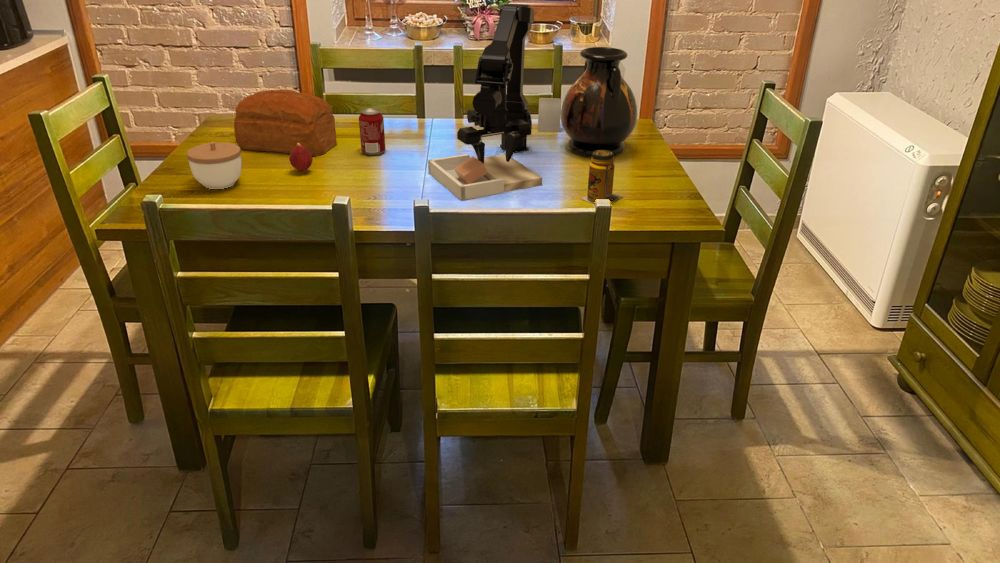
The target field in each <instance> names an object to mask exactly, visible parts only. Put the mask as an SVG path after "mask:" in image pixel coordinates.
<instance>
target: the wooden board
mask: <svg viewBox="0 0 1000 563" xmlns="http://www.w3.org/2000/svg"><path fill="white" fill-rule="evenodd" d="M476 159H478V158H476ZM484 166H485V168H486V170H487V172H488V173H486V174H485V175H483V176H484V177H485V178H486V179H488V180H495V179H501V178H503V179H504V193H506V192H510V191H511V192H512V191H515V190H522V189H527V188H532V187H538V186H542V185H543V177H542V176H541V175H539V174H538V173H537V172H534V171H533V170H532V169H530V168H528V167H527V166H526V165H524V164H523V163H520V162H519V161H518V160H517V159H515V158H513V156H512V157H511V159H510V161H509V162H507V161H506V153H503V154H498V155H497V154H496V155H491V156H489V155H488V156H484Z"/></svg>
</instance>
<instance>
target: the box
mask: <svg viewBox="0 0 1000 563" xmlns="http://www.w3.org/2000/svg"><path fill="white" fill-rule="evenodd" d="M469 158H471V155H470V154H469V153H465V154H459V155H453V156H446V157H439V158H433V159H428V160H427V162H428V163H427V165H428V168H427V169H428V174H429V175H431V177H433V178H434V179H435V180H437V181H438V182H439V183H441V185H442V186H444V188H446V190H449V191H450V192H451V193H452V194H453V195H455V197H457V198H458V200H460V201H465V200H471V199H472V200H473V199H476V198H482V197H483V198H484V197H488V196H494V195H498V194H499V195H500V194H504V193H505V192H504V179H503V178H501V179H495V180H488V179H486V178H485V177H484V176H482V177H481V178H479V179H478V180H476V181H475V182H473V183H472V184H466V183H465V182H464V181H462V180H461V179H460V178H459V177H458V175H457V173H456V171H455V169H454V168H456V167H457V166H459V165H460V164H462V163H463V162H465V161H466V160H468V159H469Z"/></svg>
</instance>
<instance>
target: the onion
mask: <svg viewBox="0 0 1000 563" xmlns="http://www.w3.org/2000/svg"><path fill="white" fill-rule="evenodd" d="M289 163H290V165H291V167H293V168H294V169H295V170H296V171H297V172H300V173H305V172H306V171H307V170H308V169H309V168H310V167H311V166H312V164H313V155H311V153H310V152H309V151H308V150H307V149H306V148H305V147H303V146H302V145H300V143H297V147H295V148H294V149H293V150H292V152H291V154H290V153H289Z"/></svg>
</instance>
